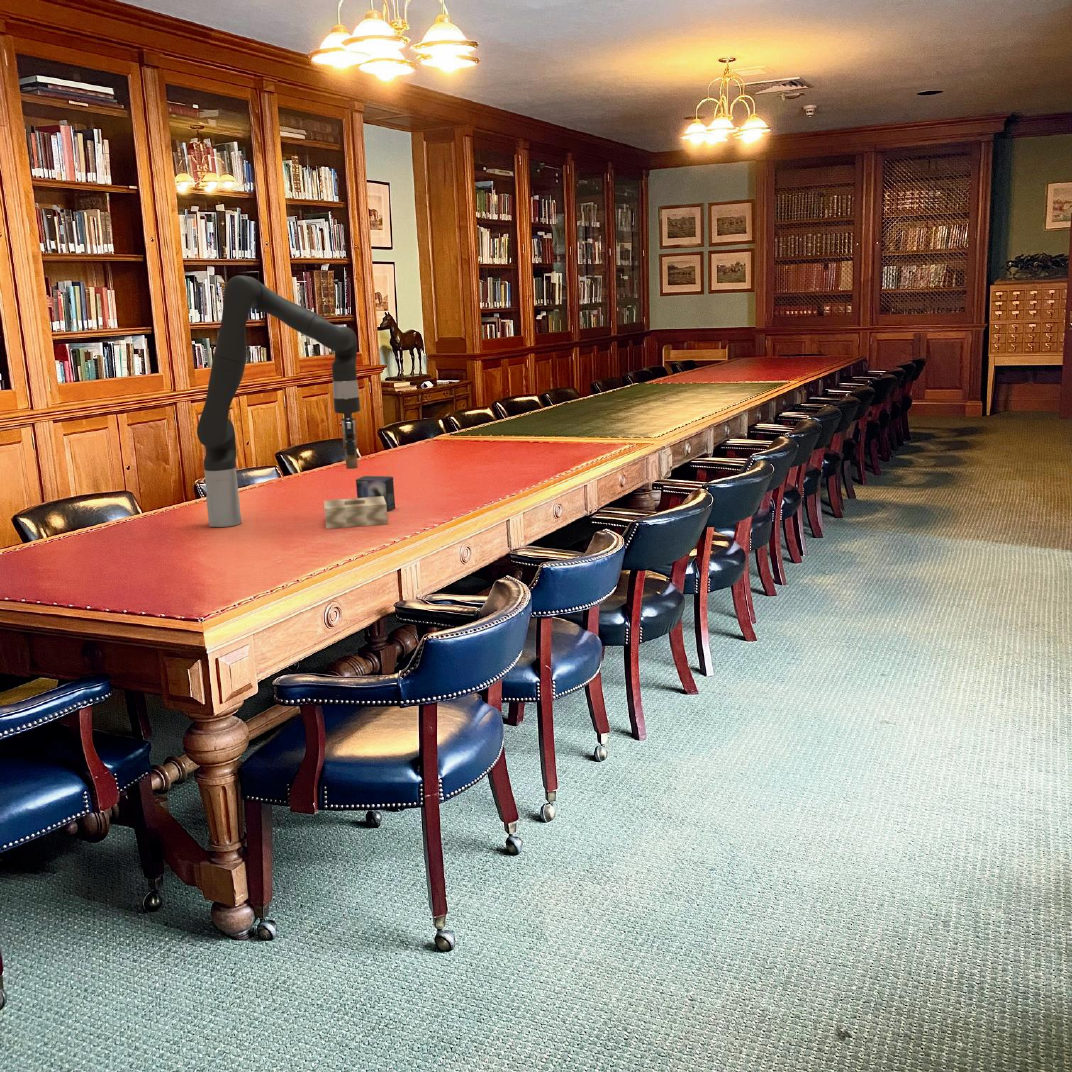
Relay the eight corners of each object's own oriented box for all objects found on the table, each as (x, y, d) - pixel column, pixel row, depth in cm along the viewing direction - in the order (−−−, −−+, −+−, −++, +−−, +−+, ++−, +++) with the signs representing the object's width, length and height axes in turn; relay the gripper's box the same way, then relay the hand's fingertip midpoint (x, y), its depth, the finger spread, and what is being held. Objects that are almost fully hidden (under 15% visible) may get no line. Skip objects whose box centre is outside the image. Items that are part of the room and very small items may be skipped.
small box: (357, 511, 336) (354, 479, 333) (366, 507, 342) (363, 475, 339) (387, 512, 333) (385, 479, 330) (396, 508, 339) (393, 476, 336)
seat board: (326, 528, 311) (324, 508, 310) (325, 519, 325) (324, 500, 323) (387, 524, 315) (386, 504, 313) (384, 515, 328) (383, 496, 327)
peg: (345, 469, 314) (341, 429, 311) (344, 467, 318) (341, 427, 315) (359, 468, 314) (356, 428, 312) (358, 466, 318) (355, 426, 316)
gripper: (332, 395, 317) (337, 451, 321) (333, 398, 304) (338, 458, 308) (358, 393, 319) (362, 450, 323) (360, 397, 305) (364, 456, 309)
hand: (350, 453), depth 315 cm, fingers closed on peg, 4 cm apart
